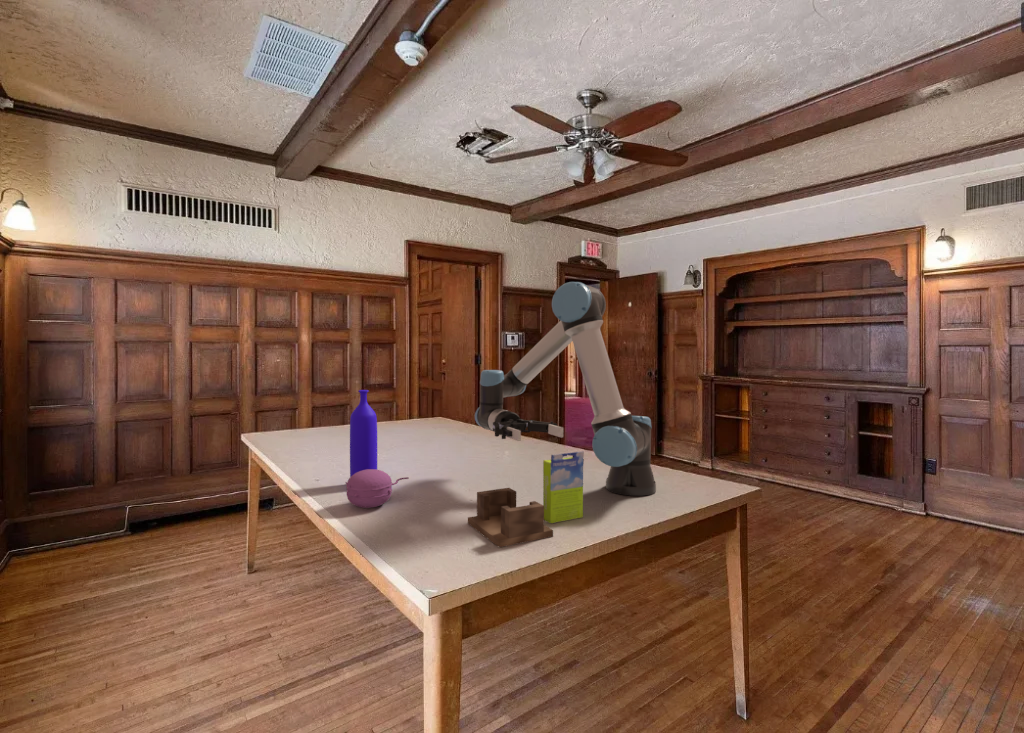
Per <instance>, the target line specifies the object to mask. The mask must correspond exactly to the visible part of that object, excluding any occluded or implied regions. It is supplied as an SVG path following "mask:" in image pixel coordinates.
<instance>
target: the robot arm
mask: <svg viewBox="0 0 1024 733" xmlns="http://www.w3.org/2000/svg"><path fill="white" fill-rule="evenodd" d="M606 305H607V303H606V298H605V296H604V294H603V293H602V292H601V290H599V289H598V288H597V287H594V286H591V285H587V284H585V283H583V282H581V281H569V282H565V283H564V284H562V285H560V286H559V287H558V288H557V289H556V290H555V292H554V294H553V296H552V300H551V308H552V313H553V314H554V316H555V317H556V318H557V319H558V320H559V322H557V323H556V324H555V325H554V326H553V327H552V328H551V329H550V330H549V331H548V332H547V333H546V334H545V335H544V336H543V337H542V338H541V339H540V340H539V341H538V342H537V343H536V344H535V345H534V346H533V347H532V348H531V349H530V350H529V351H528V352H527V353H526V354H525V355H524V356H523V357H522V358H521V359H520V360H519V361H518V362H517V363H516V364H515V365H514V366H513V367H512V368H511V369H510V370H509V371H508V372H507V373H506V374H504V371H503V370H501V369H500V370H499V369H483V370H482V371H481V372H480V380H479V407H477V409H476V410H475V413H474V420H475V423H476V424H477V426H479V427H480V428H482V429H484V430H488V431H491V432H494V437H496V438H497V437H500V436H501V440H506V439H507V438H509V439H512V440H513V441H517V442H521V440H522V439H521V437H522V436H521V435H522V433H527V434H528V433H531V432H536V433H548V435H551V436H555V437H558V438H564V427H563V426H559V425H558V423H556V422H554V421H550V422H549V421H548V422H547V421H539V420H538V421H537V420H534V419H530V420H526V419H522V418H521V417H520V416H519V414H518V413H516V412H513V411H509V410H506V409H504V398H507V397H517V396H519V395H521V394H524V392H525V391H526V388H527V385H528V384H529V383H531V382H532V380H533V379H535V378H536V376H538V375H539V373H540V372H542V371H543V370H544V369H545V368H546V367H547V366H548V365H549V364H550V363H551V362H552V361H553V360H554V359H555V358H557V357H558V356H559V355H560V354H561V353H562V352H563V351H564V350H565V349H566V348H567V347H568V346H569V345H570V344H571V343H572V344H573V348H574V351H575V354H576V358H577V361H578V363H579V368H580V371H581V374H582V377H583V381H584V385H585V387H586V392H587V395H588V399H589V402H590V405H591V408H592V409H591V410H592V412H593V415H594V416H593V419H592V421H591V427H592V430H593V434H594V436H593V438H592V443H591V444H592V445H591V446H592V450H593V453H594V455H595V457H596V458H597V459H598V460H599V461H600V463H603V464H605V466H609V467H610V469H609V471H608V475H607V477H606V480H605V489H606V490H607V491H609V492H612V494H613V493H614V494H618V495H622V496H634V497H638V496H639V497H641V496H643V497H644V496H648V495H649V496H650V495H652V494H653V495H654V494H655V493H656V492H657V483H656V481H655V478H654V474H653V470H652V467H651V456H652V455H651V454H652V453H651V450H652V449H651V447H652V426H653V425H652V420H651V418H650V417H649V416H642V415H632V413H631V411H629V410H627V409H626V408H625V407H624V404H623V401H622V398H621V395H620V391H619V387H618V384H617V380H616V377H615V375H614V371H613V368H612V364H611V360H610V357H609V354H608V351H607V348H606V347H607V346H606V345H605V344H606V343H605V341H604V338H603V335H602V331H601V327H602V325H603V323H604V320H603V317H604V314H605V312H606V310H607V309H606V308H607V306H606Z"/></svg>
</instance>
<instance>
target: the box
mask: <svg viewBox="0 0 1024 733" xmlns="http://www.w3.org/2000/svg"><path fill="white" fill-rule="evenodd" d="M584 453H585V452H584V450H581V451H574V452H566V453H555V454H551V455H550V459H544V460H543V463H542V464H543V470H542V472H543V473H542V474H543V475H542V478H543V487H542V488H543V490H542V491H543V493H542V494H543V497H542V500H543V503H542V505H543V506H544V522H546V523H549V524H554V523H559V522H565V521H570V520H576V519H583V518H584V510H583V509H584V461H585V460H584ZM567 456H570V457H567Z"/></svg>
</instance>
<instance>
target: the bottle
mask: <svg viewBox="0 0 1024 733" xmlns="http://www.w3.org/2000/svg"><path fill="white" fill-rule="evenodd" d="M368 392H370V391H369V390H368V389H359V390H358V393H359V395H360V396H359V397H360V398H359V399H360V400H359V404H358V405H357V407H355V409H354V410H353V411H352V412H351V414H350V418H349V419H350V420H349V474H350V475H349V476H350V477H351V476H352V475H354V474H355V473H357V472H359V471H362V470H367V469H376V470H378V420H377V414H376V411H375V410H374V409H373V408H372V407H371V405H369V403H368V399H367V398H368V396H367V395H368ZM350 477H349V478H350Z"/></svg>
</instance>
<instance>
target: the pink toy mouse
mask: <svg viewBox="0 0 1024 733" xmlns="http://www.w3.org/2000/svg"><path fill="white" fill-rule="evenodd" d="M409 479H410V478H409V477H400V478H398V479H396V480H395V482H392V478H391V476H390V475H389V474H388V473H386V472H385V471H383V470H380V469H377V470H376V469H367V470H362V471H359V472H357V473H355V474H354V475H352V476H351V477H349V478H348V480H347V481H345V484H346V498H347V499H348V502H350V504H352V505H353V506H355V507H357V508H364V509H371V508H377V507H379V506H382V505H383V504H386V503H387V502H388V501H389V499H390V498H391V496H392V494H393V489H392V486H394V485H397V484H398V483H399V481H402V480H409Z"/></svg>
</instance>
